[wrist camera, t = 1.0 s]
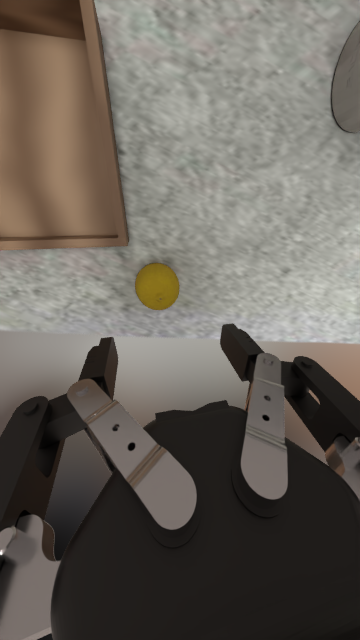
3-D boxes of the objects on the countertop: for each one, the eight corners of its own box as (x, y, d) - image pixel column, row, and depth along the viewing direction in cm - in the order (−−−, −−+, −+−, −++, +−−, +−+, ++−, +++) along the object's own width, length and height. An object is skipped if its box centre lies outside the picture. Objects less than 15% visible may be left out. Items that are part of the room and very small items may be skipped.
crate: (101, 34, 15) (88, -24, 12) (129, 240, 23) (127, 245, 20) (-140, -1, 13) (-259, -92, 9) (-14, 244, 21) (-48, 251, 17)
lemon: (128, 267, 25) (124, 287, 18) (164, 250, 25) (174, 264, 18) (146, 300, 28) (148, 327, 21) (179, 285, 28) (192, 309, 21)
